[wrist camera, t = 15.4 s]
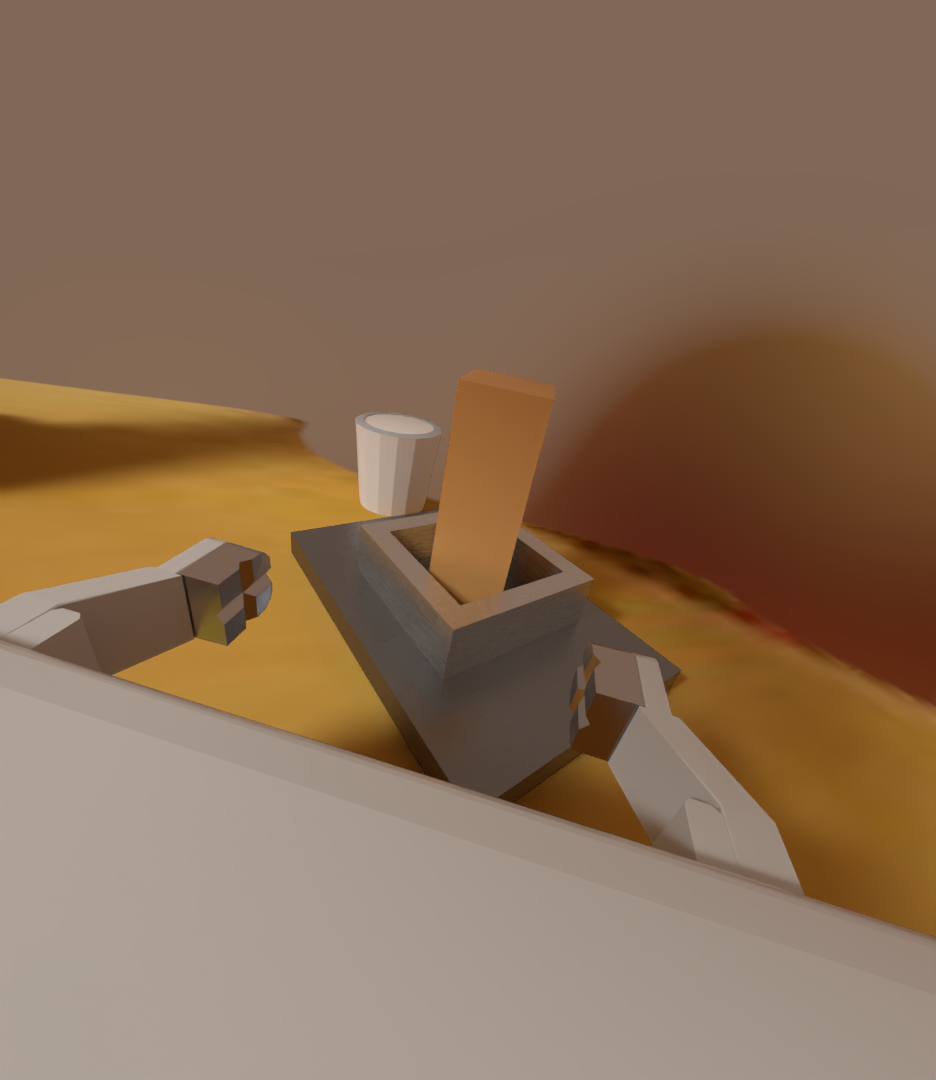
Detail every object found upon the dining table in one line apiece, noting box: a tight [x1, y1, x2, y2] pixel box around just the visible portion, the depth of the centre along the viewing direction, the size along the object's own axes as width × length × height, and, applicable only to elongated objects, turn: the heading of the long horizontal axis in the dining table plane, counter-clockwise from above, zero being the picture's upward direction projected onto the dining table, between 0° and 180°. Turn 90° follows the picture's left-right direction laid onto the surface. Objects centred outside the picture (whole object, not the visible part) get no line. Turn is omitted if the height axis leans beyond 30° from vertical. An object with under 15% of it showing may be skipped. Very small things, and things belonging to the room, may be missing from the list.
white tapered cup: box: [355, 412, 442, 517], centre depth 35 cm, size 7×7×7 cm
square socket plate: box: [291, 509, 681, 803], centre depth 24 cm, size 20×14×4 cm
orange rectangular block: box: [429, 369, 556, 605], centre depth 22 cm, size 4×4×12 cm
